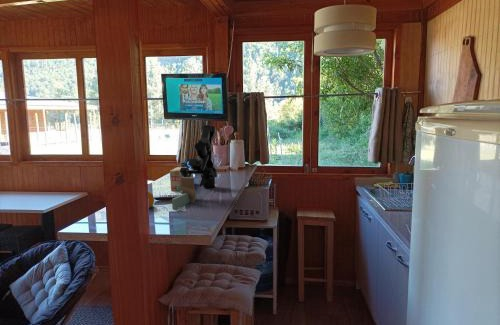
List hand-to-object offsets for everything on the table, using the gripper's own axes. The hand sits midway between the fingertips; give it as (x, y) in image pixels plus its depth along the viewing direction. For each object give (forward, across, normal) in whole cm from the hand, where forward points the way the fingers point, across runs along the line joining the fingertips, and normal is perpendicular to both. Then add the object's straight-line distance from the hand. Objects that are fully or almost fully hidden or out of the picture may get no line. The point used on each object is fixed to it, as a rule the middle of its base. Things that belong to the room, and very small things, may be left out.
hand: (192, 186), depth 191 cm
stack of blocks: (-13, -23, +24) cm, 36 cm away
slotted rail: (+11, 0, -1) cm, 11 cm away
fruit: (+20, -17, -9) cm, 27 cm away
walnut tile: (+8, 0, +2) cm, 9 cm away
